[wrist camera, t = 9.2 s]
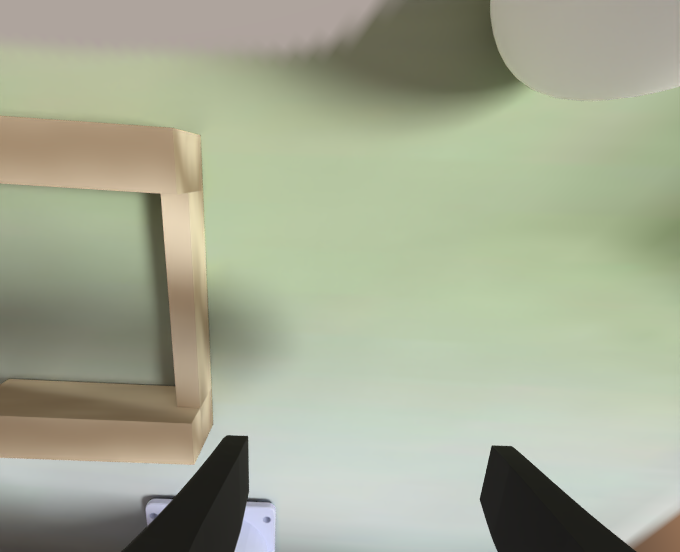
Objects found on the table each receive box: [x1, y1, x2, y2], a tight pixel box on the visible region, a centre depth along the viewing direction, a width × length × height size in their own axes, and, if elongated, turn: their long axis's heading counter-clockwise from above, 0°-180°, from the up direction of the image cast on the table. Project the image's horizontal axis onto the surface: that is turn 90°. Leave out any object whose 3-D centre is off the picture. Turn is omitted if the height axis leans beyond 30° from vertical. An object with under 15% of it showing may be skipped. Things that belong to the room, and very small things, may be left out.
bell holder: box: [0, 116, 213, 465], centre depth 17 cm, size 16×11×3 cm
